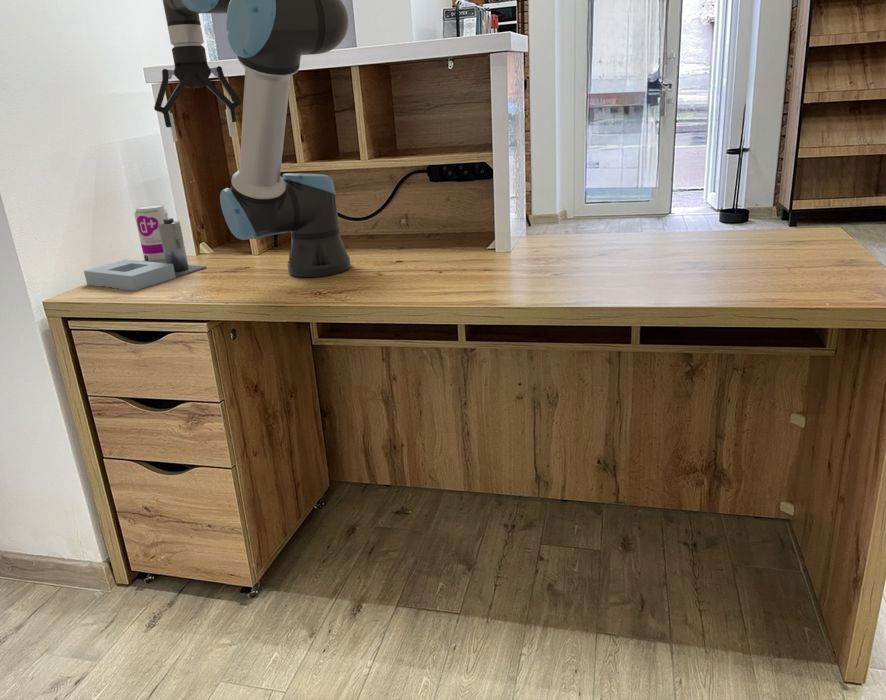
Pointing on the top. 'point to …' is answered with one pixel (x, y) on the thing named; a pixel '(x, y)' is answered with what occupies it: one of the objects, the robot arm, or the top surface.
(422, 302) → the top surface
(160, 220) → the supplement can
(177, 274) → the pad
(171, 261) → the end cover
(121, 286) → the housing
